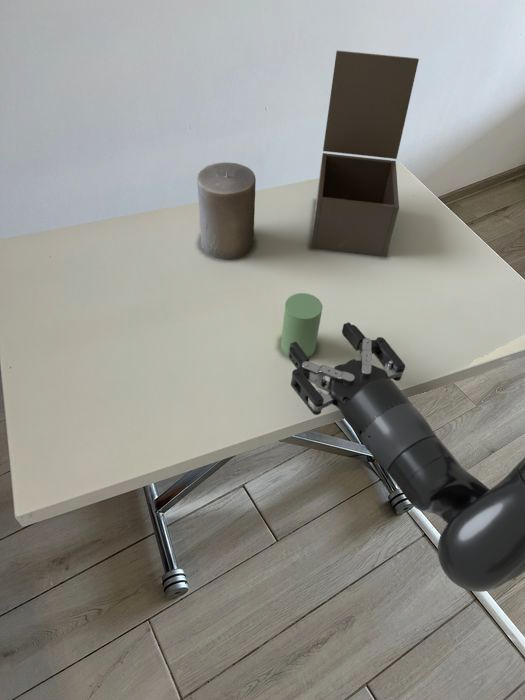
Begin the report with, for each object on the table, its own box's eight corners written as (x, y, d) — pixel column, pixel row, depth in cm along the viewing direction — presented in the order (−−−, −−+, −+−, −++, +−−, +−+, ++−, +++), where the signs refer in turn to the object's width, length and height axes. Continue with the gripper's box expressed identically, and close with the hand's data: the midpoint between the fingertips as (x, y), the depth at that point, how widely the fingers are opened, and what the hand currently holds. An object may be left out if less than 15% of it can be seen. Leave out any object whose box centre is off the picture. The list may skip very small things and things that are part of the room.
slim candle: (315, 338, 82) (323, 295, 75) (313, 363, 79) (321, 321, 72) (282, 334, 82) (287, 290, 76) (278, 359, 79) (283, 316, 72)
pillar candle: (264, 245, 97) (269, 170, 86) (226, 269, 92) (225, 193, 81) (227, 222, 101) (227, 148, 90) (188, 244, 96) (183, 168, 85)
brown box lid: (418, 59, 87) (418, 58, 88) (336, 51, 88) (336, 50, 89) (396, 159, 97) (396, 157, 98) (322, 151, 98) (323, 149, 99)
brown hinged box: (385, 259, 96) (399, 208, 88) (310, 250, 97) (317, 198, 89) (383, 210, 106) (395, 160, 98) (315, 203, 107) (322, 152, 99)
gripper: (444, 386, 63) (366, 301, 72) (345, 431, 58) (275, 334, 68) (427, 421, 69) (356, 338, 78) (335, 465, 64) (271, 371, 73)
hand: (318, 336), depth 73 cm, fingers open, 8 cm apart
